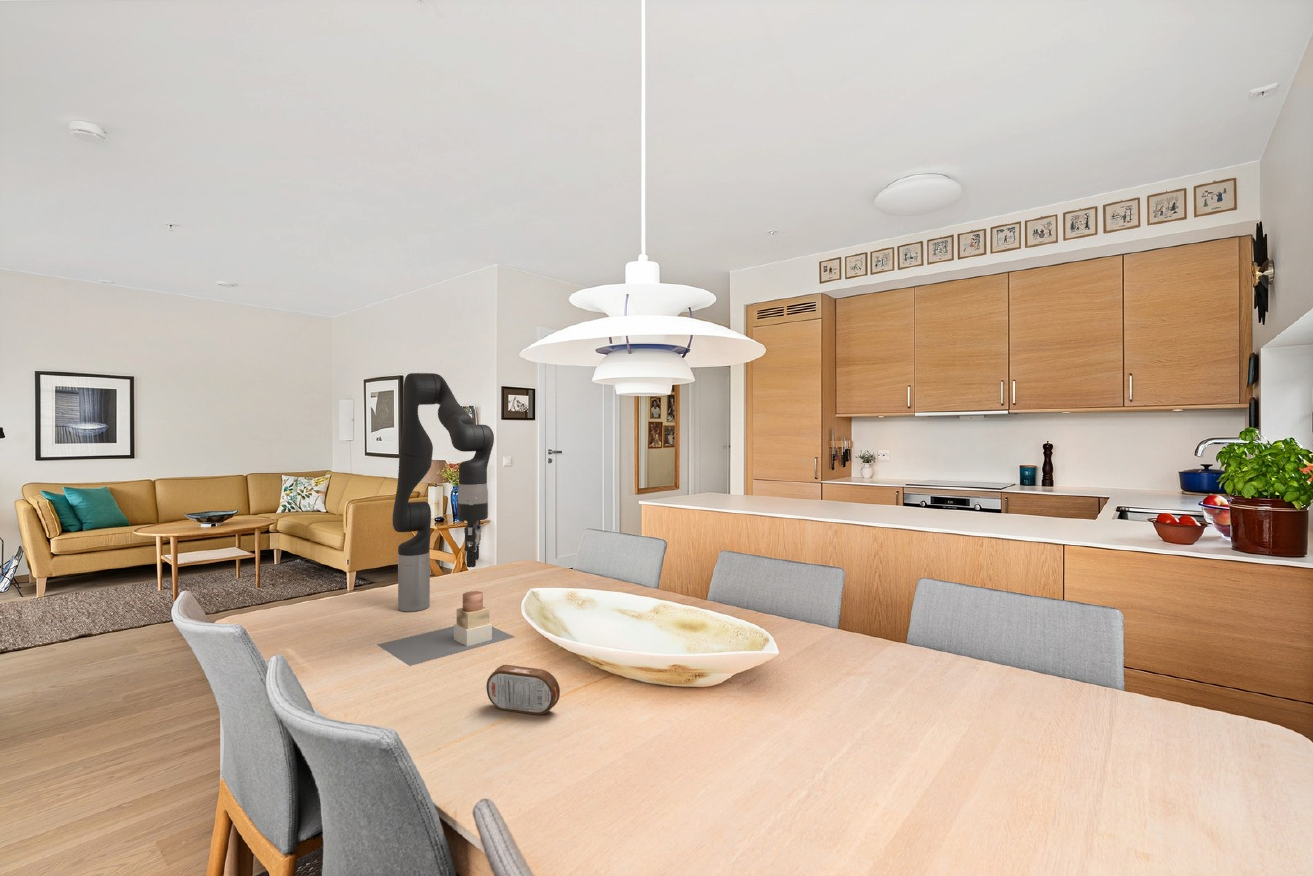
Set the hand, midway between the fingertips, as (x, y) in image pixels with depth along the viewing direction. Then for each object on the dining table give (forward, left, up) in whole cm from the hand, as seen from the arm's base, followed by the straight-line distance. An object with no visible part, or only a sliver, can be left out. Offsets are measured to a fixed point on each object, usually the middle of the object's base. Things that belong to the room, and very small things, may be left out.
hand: (472, 563), depth 156 cm
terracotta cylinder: (0, 0, -12) cm, 12 cm away
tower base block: (0, 0, -20) cm, 20 cm away
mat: (-4, -5, -21) cm, 22 cm away
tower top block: (0, 0, -16) cm, 16 cm away
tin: (+42, -12, -21) cm, 49 cm away
